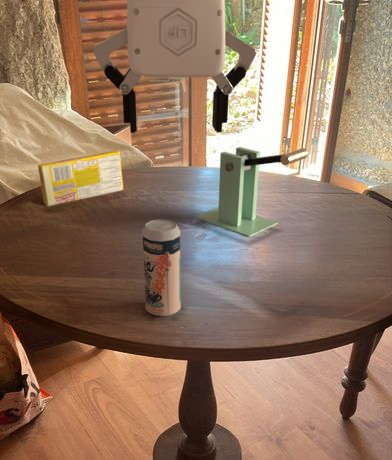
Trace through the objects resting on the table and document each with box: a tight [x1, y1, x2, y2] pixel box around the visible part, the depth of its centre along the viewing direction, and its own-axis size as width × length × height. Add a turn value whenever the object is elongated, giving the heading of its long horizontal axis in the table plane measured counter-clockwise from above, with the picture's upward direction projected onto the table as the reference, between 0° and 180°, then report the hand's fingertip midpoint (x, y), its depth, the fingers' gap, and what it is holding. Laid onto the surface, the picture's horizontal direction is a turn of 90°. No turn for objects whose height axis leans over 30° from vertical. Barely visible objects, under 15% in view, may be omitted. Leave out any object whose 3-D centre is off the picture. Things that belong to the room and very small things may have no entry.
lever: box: [239, 147, 309, 171], centre depth 91 cm, size 13×5×2 cm, turn 47°
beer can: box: [141, 218, 182, 317], centre depth 73 cm, size 5×5×12 cm
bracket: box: [196, 146, 279, 238], centre depth 97 cm, size 12×8×13 cm, turn 47°
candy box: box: [37, 149, 124, 212], centre depth 107 cm, size 16×2×8 cm, turn 126°
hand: (175, 129), depth 65 cm, fingers open, 9 cm apart
